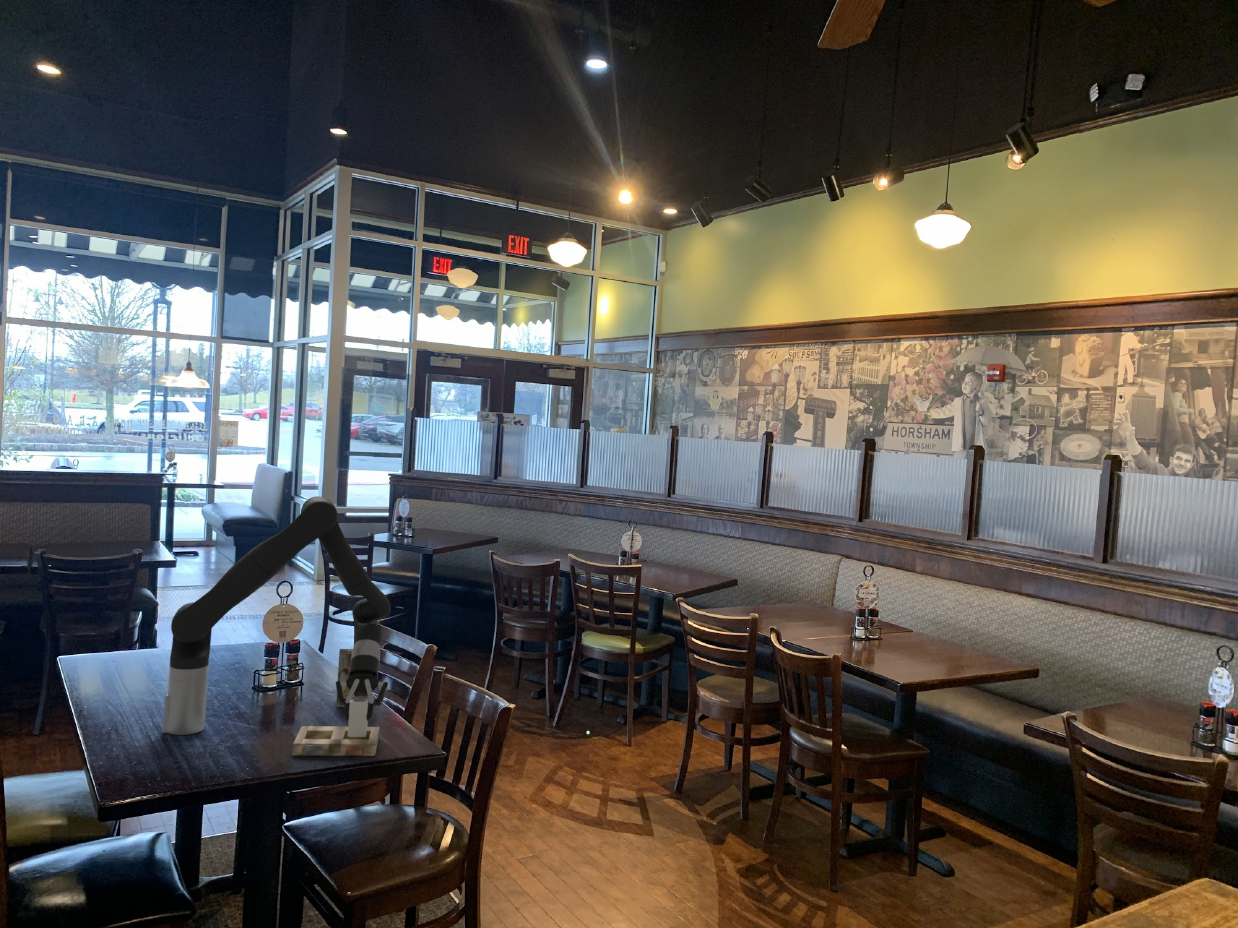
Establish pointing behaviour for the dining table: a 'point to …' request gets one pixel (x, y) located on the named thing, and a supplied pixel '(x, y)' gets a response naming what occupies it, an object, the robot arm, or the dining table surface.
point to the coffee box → (344, 671)
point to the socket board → (334, 741)
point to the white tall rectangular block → (358, 716)
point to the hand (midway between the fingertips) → (357, 718)
